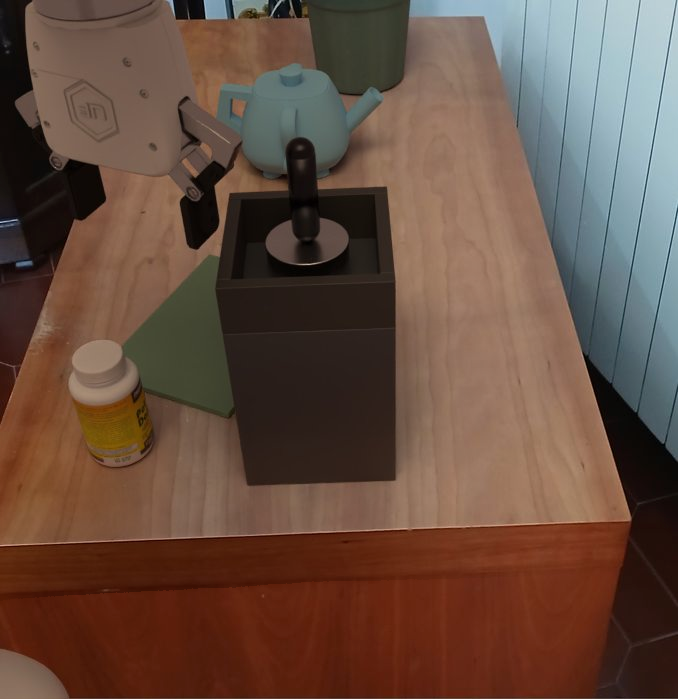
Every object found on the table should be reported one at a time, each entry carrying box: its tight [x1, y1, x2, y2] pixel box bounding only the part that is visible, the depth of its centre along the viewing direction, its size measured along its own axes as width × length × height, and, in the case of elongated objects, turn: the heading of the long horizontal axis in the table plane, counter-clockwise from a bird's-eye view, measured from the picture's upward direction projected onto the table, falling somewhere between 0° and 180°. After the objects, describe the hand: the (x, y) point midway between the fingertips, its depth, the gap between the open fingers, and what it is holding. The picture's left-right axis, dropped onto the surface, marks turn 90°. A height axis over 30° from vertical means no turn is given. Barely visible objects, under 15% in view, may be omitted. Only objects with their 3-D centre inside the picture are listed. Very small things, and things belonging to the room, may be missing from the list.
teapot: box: [215, 62, 385, 179], centre depth 109 cm, size 20×17×12 cm
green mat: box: [120, 254, 235, 419], centre depth 89 cm, size 20×14×1 cm
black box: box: [215, 186, 397, 486], centre depth 72 cm, size 12×12×20 cm
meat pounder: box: [265, 137, 350, 278], centre depth 64 cm, size 6×6×12 cm
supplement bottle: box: [67, 339, 155, 468], centre depth 75 cm, size 6×6×10 cm
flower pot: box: [305, 0, 411, 95], centre depth 125 cm, size 16×16×16 cm
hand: (145, 224), depth 66 cm, fingers open, 9 cm apart
